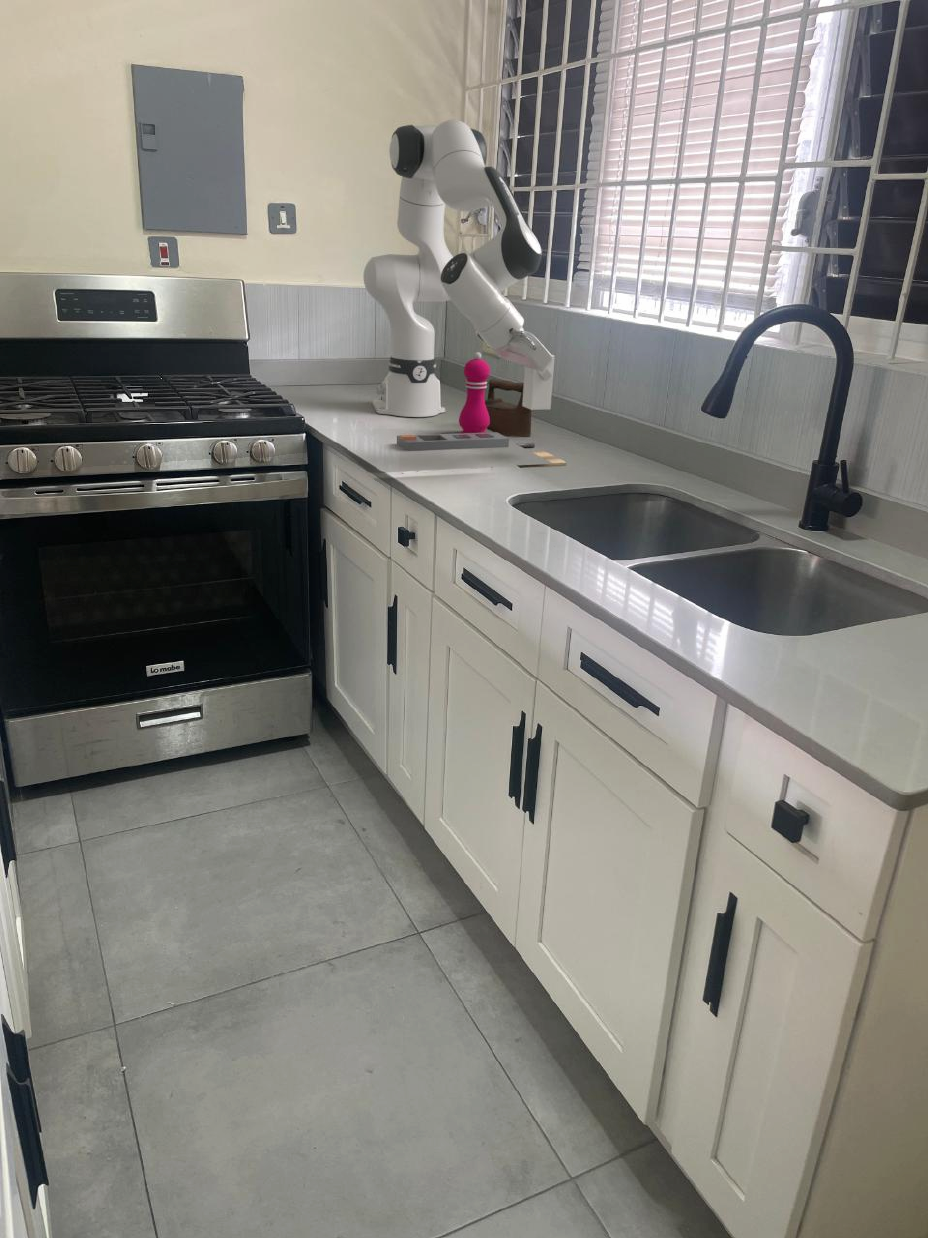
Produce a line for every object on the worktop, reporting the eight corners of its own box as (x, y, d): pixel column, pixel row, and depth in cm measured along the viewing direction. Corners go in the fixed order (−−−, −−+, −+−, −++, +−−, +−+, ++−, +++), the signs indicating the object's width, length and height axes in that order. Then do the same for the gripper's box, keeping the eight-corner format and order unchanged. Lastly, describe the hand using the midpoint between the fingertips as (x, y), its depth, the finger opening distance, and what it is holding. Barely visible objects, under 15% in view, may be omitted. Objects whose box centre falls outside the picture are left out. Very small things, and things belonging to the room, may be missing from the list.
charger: (522, 405, 200) (526, 351, 195) (541, 405, 201) (545, 351, 197) (531, 409, 196) (535, 354, 191) (550, 409, 197) (554, 354, 193)
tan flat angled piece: (499, 455, 206) (499, 452, 205) (544, 453, 210) (544, 450, 209) (520, 467, 196) (520, 464, 196) (566, 465, 200) (566, 462, 200)
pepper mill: (485, 444, 216) (490, 355, 208) (455, 441, 217) (459, 352, 209) (491, 437, 223) (496, 351, 215) (461, 435, 224) (465, 349, 216)
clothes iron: (529, 441, 222) (533, 383, 216) (476, 430, 231) (479, 374, 226) (548, 436, 227) (552, 380, 222) (496, 426, 237) (499, 371, 231)
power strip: (396, 449, 207) (396, 432, 206) (527, 443, 218) (528, 428, 217) (406, 456, 201) (406, 439, 200) (540, 450, 212) (541, 434, 211)
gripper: (534, 320, 180) (575, 372, 187) (492, 311, 197) (531, 358, 205) (512, 344, 180) (553, 395, 187) (472, 332, 198) (511, 379, 205)
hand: (541, 375), depth 196 cm, fingers closed on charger, 4 cm apart
